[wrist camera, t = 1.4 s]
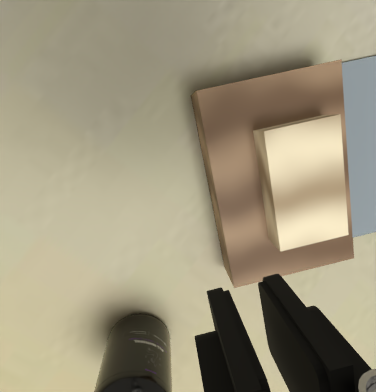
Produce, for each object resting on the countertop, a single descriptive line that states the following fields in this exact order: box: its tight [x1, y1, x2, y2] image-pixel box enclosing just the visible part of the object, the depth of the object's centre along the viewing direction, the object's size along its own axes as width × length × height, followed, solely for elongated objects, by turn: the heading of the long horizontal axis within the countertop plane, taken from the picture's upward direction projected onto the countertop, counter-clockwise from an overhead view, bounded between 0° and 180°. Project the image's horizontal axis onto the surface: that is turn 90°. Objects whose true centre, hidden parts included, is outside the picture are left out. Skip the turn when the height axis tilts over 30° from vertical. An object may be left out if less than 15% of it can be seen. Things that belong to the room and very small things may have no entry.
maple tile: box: [253, 114, 349, 252], centre depth 24 cm, size 10×6×2 cm, turn 12°
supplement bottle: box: [94, 314, 172, 392], centre depth 26 cm, size 7×7×12 cm
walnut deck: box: [191, 60, 354, 288], centre depth 27 cm, size 18×12×4 cm, turn 12°
